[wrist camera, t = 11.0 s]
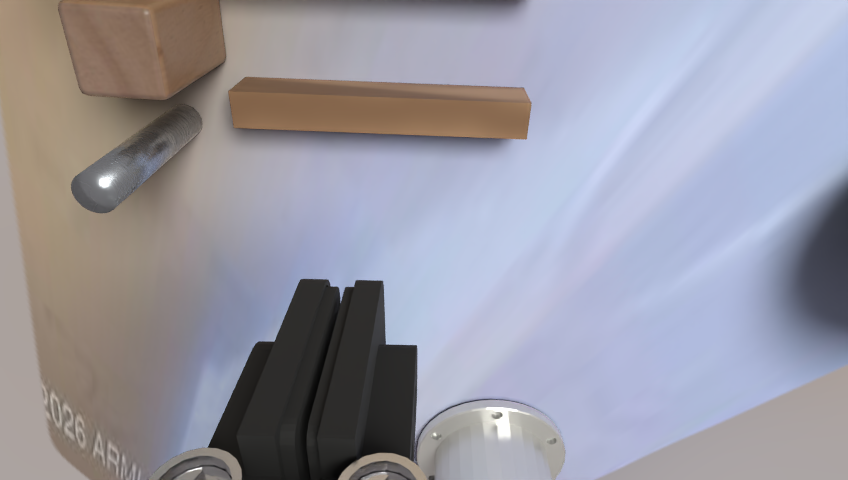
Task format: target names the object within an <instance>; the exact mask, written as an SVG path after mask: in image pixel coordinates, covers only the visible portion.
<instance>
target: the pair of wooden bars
mask: <svg viewBox="0 0 848 480" xmlns="http://www.w3.org/2000/svg"><path fill="white" fill-rule="evenodd" d="M228 92H229V99H230V106H231V112H232V119H233V125H234V128H250V129H276V130H301V131H326V132H352V133H377V134H402V135H428V136H453V137H478V138H504V139H527V133H528V125H529V118H530V111H531V101H530V99H529V97H528V95H527V93H526V91H525V89H524V88H514V87H489V86H463V85H438V84H412V83H387V82H361V81H336V80H310V79H285V78H259V77H245V78H244V79H243V80H241V81H240V82H239V83H238V84H237V85H235V86H234V87H233V88H232V89H230V90H229V91H228Z"/></svg>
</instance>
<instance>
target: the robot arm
mask: <svg viewBox="0 0 848 480" xmlns="http://www.w3.org/2000/svg"><path fill="white" fill-rule="evenodd" d="M416 403H417V345H386V341H385V311H384V285H383V281H367V280H357V281H356V282H355V285H354V287H346V288H345V290H344V294H343V297H342V301H341V304H340V292H339V288H338V287H330V283H329V280H323V279H301V280H300V282H299V284H298V286H297V289H296V291H295V293H294V296H293V298H292V301H291V303H290V306H289V308H288V311H287V313H286V315H285V318H284V320H283V323H282V325H281V328H280V330H279V333H278V335H277V337H276V340H275V342H260V341H259V342H258V343H256V344H255V346H254V348H253V349H252V351H251V354H250V356H249V358H248V360H247V362H246V365H245V367H244V369H243V371H242V373H241V376H240V378H239V380H238V382H237V384H236V387H235V389H234V391H233V393H232V395H231V398H230V400H229V402H228V404H227V406H226V409H225V411H224V413H223V415H222V417H221V420H220V422H219V424H218V426H217V428H216V431H215V433H214V435H213V437H212V439H211V442H210V444H209V446H208V448H199V449H195V450H190V451H186V452H184V453H182V454H180V455H178V456H175V457H173V458H172V459H170V460H169V461H167V462H166V463H165V464H163V465H162V466H160V467H159V468H158V469H157V470H156V471H155V472H154V474H153V475H152V476H151V477H150V478H149V479H148V480H555V478H556V477H557V476H558V474H559V473H560V472H561V469H562V467H563V465H564V461H565V448H564V443H563V439H562V436H561V433H560V431H559V429H558V428H557V426H556V425H555V424H554V422H553V421H551V420H550V419H549V418H548V417H547V416H546V415H545V414H543V413H541V412H539V411H538V410H536V409H534V408H532V407H529V406H526V405H524V404H520V403H516V402H511V401H505V400H479V401H474V402H469V403H464V404H461V405H458V406H456V407H453V408H450V409H448V410H447V411H445V412H443V413H441V414H439V415H438V416H437V417H436V418H434V419H433V420H432V421H430V423H429V424H428V425H427V426H426V427H425V429H424V430H423V431H422V433H421V436H420V438H419V440H418V446H417V463H418V465H417V464H415V463H414V444H415V425H416Z"/></svg>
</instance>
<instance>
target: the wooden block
mask: <svg viewBox="0 0 848 480" xmlns="http://www.w3.org/2000/svg"><path fill="white" fill-rule="evenodd" d="M58 11H59V14H60V18H61V22H62V25H63V29H64V33H65V37H66V40H67V44H68V48H69V51H70V55H71V59H72V63H73V66H74V70H75V74H76V77H77V81H78V85H79V88H80V90H81V91H82V93H83V94H86V95H90V96H102V97H118V98H134V99H150V100H166V99H168V98H170V97H172V96H173V95H175V94H176V93H178V92H179V91H181V90H182V89H184V88H185V87H187V86H188V85H190V84H191V83H193V82H194V81H196V80H197V79H199V78H200V77H202V76H203V75H205V74H206V73H208V72H210V71H211V70H213V69H214V68H216V67H217V66H219V65H220V64H222V63H223V62H224V61H225V58H226V54H225V46H224V38H223V30H222V22H221V14H220V6H219V0H62V1H60V3H59V6H58Z"/></svg>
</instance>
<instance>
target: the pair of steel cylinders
mask: <svg viewBox="0 0 848 480" xmlns="http://www.w3.org/2000/svg"><path fill="white" fill-rule="evenodd" d="M201 129H202V119H201V117H200V115H199V113H198V112H197V111H196V110H195V109H194V108H192V107H190V106H188V105H185V104H179V105H176V106H174V107H172V108H171V109H170V110H168V111H167V112H165V113H164V114H163V115H161V116H160V117H158V118H157V119H156V120H154V121H153V122H151V123H150V124H148V125H147V126H146V127H144V128H143V129H141V130H140V131H139V132H137V133H136V134H134V135H133V136H132V137H130V138H129V139H127V140H126V141H125V142H123V143H122V144H120V145H119V146H118V147H116V148H115V149H113V150H112V151H111V152H109V153H108V154H106V155H105V156H103V157H102V158H101V159H99V160H98V161H96V162H95V163H94V164H92V165H91V166H89V167H88V168H87V169H85V170H84V171H82V172H81V173H80V174H78V175H77V176H75V178H74V179H73V181H72V184H71V190H72V193H73V195H74V197H75V199H76V200H77V201H78V203H80V204H81V205H82V206H83V207H84V208H86V209H88V210H90V211H92V212H96V213H107V212H110V211H112V210H113V209H115V208H116V207H117V206H118V205H119V204H120V203H121V202H122V201H123V200H125V199H126V198H127V197H128V196H129V195H130V194H131V193H132V192H134V191H135V190H136V189H137V188H138V187H139V186H140V185H141V184H142V183H144V182H145V181H146V180H147V179H148V178H149V177H150V176H151V175H152V174H154V173H155V172H156V171H157V170H158V169H159V168H160V167H161V166H163V165H164V164H165V163H166V162H167V161H168V160H169V159H170V158H171V157H173V156H174V155H175V154H176V153H177V152H178V151H179V150H180V149H182V148H183V147H184V146H185V145H186V144H187V143H188V142H189V141H190V140H192V139H193V138H194V137H195V136H196V135H197V134H198V133H199V132H200V131H201Z"/></svg>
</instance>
